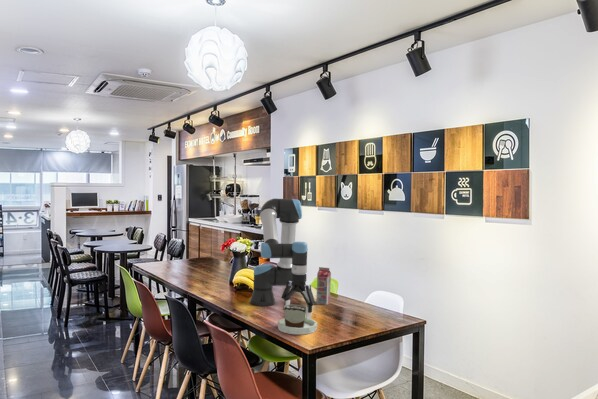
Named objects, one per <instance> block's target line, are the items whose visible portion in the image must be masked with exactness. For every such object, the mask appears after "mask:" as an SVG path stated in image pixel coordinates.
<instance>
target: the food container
mask: <svg viewBox="0 0 598 399" xmlns="http://www.w3.org/2000/svg"><path fill="white" fill-rule="evenodd" d="M282 311H283V314H284V315H283V316H284V318H285V326H288V327H295V328H304V323H305V318H306V306H305V305H303V304H302V305H300V304H290V305H286V306H285V305H284V306H283V309H282Z"/></svg>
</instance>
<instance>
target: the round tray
mask: <svg viewBox="0 0 598 399" xmlns="http://www.w3.org/2000/svg"><path fill="white" fill-rule="evenodd" d="M317 327H318V322H317V321H316V320H315V319H312V318H311V319H308V320H306V317H305V323H304V328H295V327H288V326H285V317H284V318H280V319H279V320H278V321H277V328H278V331H279V332H282V333H284V334H288V335H299V336H301V335H303V336H304V335H310V334H313V333H315V332H316V331H317V329H318V328H317Z"/></svg>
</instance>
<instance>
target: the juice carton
mask: <svg viewBox="0 0 598 399" xmlns="http://www.w3.org/2000/svg"><path fill="white" fill-rule="evenodd" d="M331 273H332V272H331V271H330V268H329V267H322V266H321V267H320V266H319V267H318V271H317V274H316V283H317V284H316V300H315V303H316V304H317V305H324V306H325V305H326V306H327V305H329V304H330V303H331V278H332V274H331ZM316 304H315V305H316Z"/></svg>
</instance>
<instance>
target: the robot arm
mask: <svg viewBox="0 0 598 399" xmlns="http://www.w3.org/2000/svg"><path fill="white" fill-rule="evenodd" d="M259 217H260V220H261V221H262V231H263V234H262V235H263V243H261V244H260V257H261V258H263V259H279V261H278V262H277V263H276V266H274V264H272V263H264V264H258V265H256V266H255V267H254V269H253V287H252V288H253V289H252V290H253V291H252V293H251V297H250V299H249V304H250V305H253V306H258V307H267V306H274V305H275V304H276V299H275V296H274V295H275V294H274V291H273V287H275V286H276V287H285V288H284V289H283V290H284V291H283V293H282V295H281V299H282V300H284V306H286V305H291V297H292V296H293V295H294V293H299V294H301V295H302V297H303V299H304V302H305V303H306V306H305V307H306V315H305V318H306V320H308V319H312V316H311V315H312V314H311V313H312V312H313V306H315V305H316V300H315V297H314V294H313V292H312V286H311V284H306V283H307V275H308V273H307V272H308V270H307V269H308V243H307V242H305V241H296V231H297V230H296V228H297V224H298V223H300V222H299V221H300V220H301V219H302V218H303V210H302V204H301V201H300V199H297V198H296V199H295V198H272V199H269V200H267V201H266V202H264V204H263V205H262V206H261V208H260V212H259ZM277 219H279V223H281V228H280V230H281V231H280V232H281V233H280V234H281V235H280V242H279V237H278V228H277V221H276V220H277ZM306 273H307V274H306Z"/></svg>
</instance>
